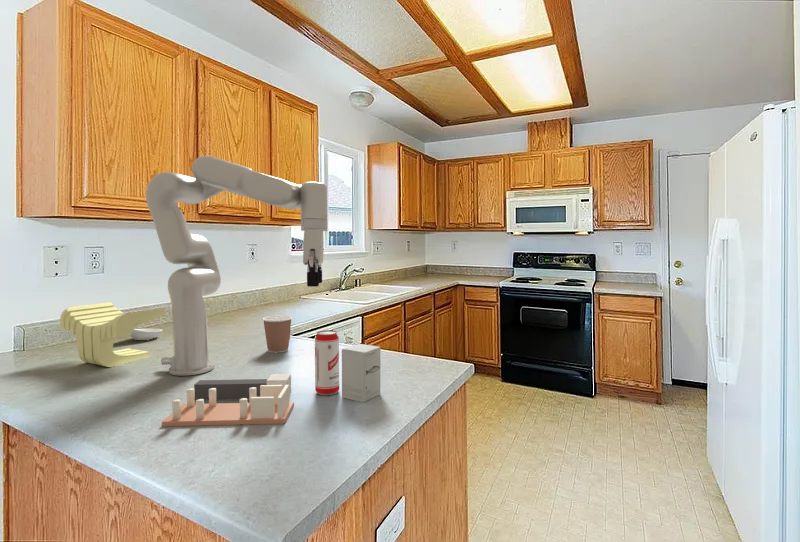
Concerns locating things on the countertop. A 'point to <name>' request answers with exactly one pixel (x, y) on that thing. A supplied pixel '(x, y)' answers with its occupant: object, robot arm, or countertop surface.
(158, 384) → the countertop surface
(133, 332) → the spoon rest
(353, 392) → the supplement box
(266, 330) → the coffee cup
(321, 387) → the beer can
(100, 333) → the slatted curved stool
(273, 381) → the grey post with base
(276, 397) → the orange peg rack
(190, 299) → the robot arm
